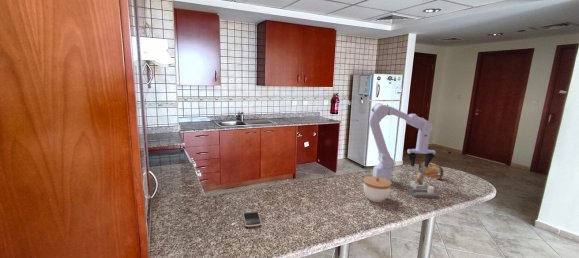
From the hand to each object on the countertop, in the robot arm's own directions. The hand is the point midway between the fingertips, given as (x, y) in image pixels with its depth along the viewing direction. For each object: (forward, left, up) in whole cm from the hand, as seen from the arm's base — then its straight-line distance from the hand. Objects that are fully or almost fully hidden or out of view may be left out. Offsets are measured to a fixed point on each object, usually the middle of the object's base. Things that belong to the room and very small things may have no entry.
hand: (419, 166), depth 148 cm
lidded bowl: (-30, -20, -11) cm, 38 cm away
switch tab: (-1, -15, -9) cm, 18 cm away
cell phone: (-87, -42, -11) cm, 97 cm away
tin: (+14, +12, -11) cm, 21 cm away
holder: (-2, -7, -10) cm, 12 cm away
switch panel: (-4, -14, -10) cm, 18 cm away
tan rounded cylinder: (-2, -7, -10) cm, 12 cm away
